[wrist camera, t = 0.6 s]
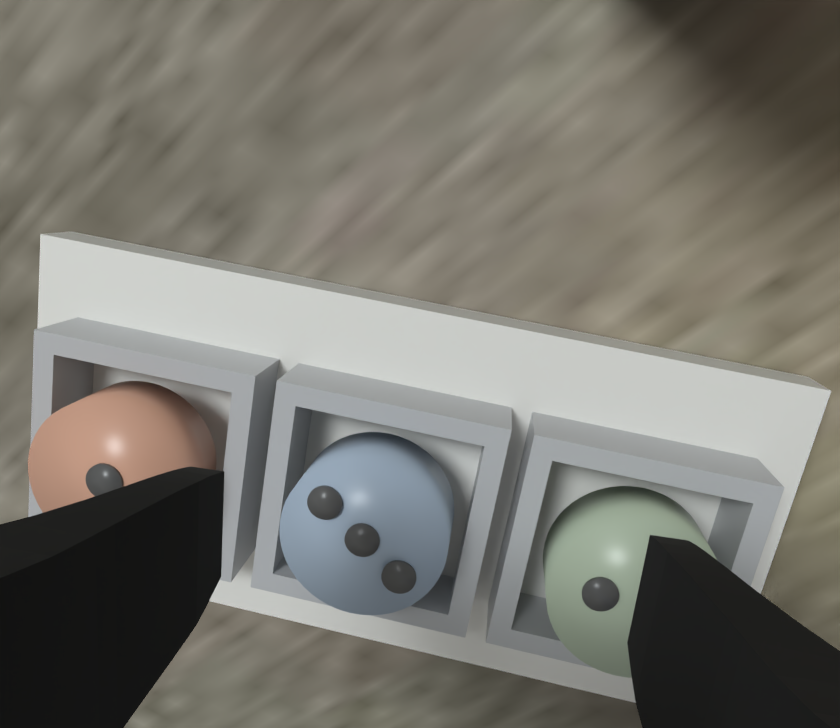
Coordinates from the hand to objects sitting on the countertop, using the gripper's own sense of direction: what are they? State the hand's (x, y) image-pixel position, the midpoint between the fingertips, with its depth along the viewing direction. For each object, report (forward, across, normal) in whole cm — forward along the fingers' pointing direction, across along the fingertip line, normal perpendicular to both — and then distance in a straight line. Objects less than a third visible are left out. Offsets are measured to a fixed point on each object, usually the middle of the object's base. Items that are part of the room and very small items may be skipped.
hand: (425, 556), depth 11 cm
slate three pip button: (+7, +2, +3) cm, 8 cm away
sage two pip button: (+7, -5, +3) cm, 10 cm away
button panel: (+10, +2, +3) cm, 11 cm away
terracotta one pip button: (+8, +9, +2) cm, 12 cm away
